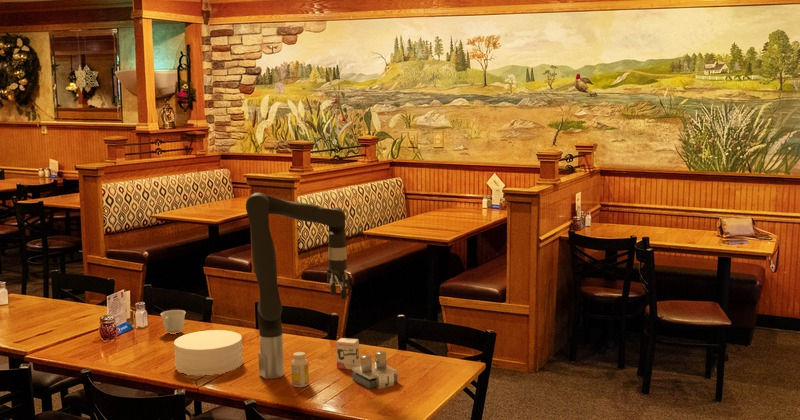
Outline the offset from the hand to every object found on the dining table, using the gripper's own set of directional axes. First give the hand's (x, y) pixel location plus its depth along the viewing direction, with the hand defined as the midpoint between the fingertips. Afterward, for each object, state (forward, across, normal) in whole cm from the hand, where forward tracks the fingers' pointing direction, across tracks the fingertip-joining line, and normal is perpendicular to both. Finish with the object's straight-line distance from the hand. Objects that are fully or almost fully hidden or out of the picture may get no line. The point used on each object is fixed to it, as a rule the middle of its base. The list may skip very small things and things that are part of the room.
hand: (338, 296), depth 342 cm
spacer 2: (+27, +17, +9) cm, 33 cm away
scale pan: (+29, +17, +6) cm, 34 cm away
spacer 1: (+27, +17, +2) cm, 32 cm away
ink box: (+32, -4, +6) cm, 33 cm away
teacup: (+32, -97, -37) cm, 109 cm away
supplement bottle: (+32, +3, -20) cm, 38 cm away
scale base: (+32, +18, +6) cm, 37 cm away
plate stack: (+33, -42, -40) cm, 67 cm away
